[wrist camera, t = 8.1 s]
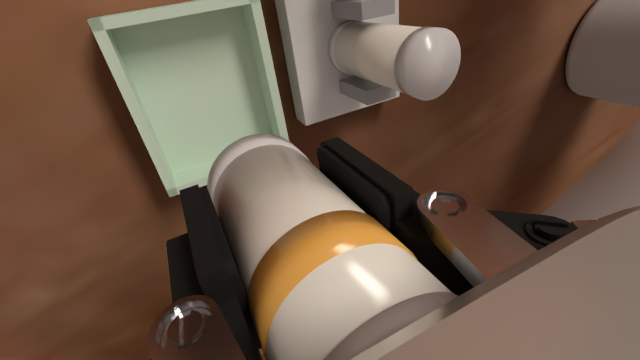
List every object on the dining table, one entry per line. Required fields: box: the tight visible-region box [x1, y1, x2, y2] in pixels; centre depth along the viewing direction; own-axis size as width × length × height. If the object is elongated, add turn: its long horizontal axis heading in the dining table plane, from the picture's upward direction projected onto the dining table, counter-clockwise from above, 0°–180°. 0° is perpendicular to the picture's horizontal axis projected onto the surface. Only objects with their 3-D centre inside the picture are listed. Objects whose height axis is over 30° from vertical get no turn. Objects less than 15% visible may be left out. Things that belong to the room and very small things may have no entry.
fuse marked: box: [207, 134, 458, 360], centre depth 9 cm, size 4×4×9 cm
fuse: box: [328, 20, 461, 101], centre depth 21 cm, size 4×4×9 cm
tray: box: [87, 0, 289, 197], centre depth 22 cm, size 11×9×3 cm
